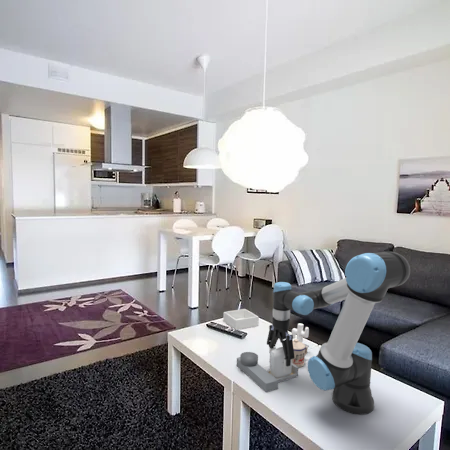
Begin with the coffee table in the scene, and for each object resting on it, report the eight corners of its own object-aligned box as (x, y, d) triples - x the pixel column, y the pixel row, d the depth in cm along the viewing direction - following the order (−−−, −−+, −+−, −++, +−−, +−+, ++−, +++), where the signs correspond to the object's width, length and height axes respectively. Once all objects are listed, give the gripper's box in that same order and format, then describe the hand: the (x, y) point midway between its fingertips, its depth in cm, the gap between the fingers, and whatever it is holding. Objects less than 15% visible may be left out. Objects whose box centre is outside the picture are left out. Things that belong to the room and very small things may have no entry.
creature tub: (258, 326, 204) (258, 316, 204) (235, 330, 197) (236, 320, 196) (244, 317, 218) (245, 308, 218) (223, 321, 211) (223, 312, 211)
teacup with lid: (294, 369, 153) (295, 345, 152) (281, 361, 161) (282, 337, 160) (313, 363, 159) (314, 340, 158) (299, 355, 167) (300, 333, 166)
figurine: (295, 347, 177) (296, 319, 176) (311, 353, 170) (312, 324, 169) (287, 351, 172) (288, 322, 171) (302, 357, 165) (304, 328, 164)
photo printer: (274, 380, 143) (274, 351, 142) (268, 375, 146) (268, 348, 146) (293, 374, 147) (293, 347, 147) (287, 370, 151) (287, 343, 151)
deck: (304, 380, 144) (305, 366, 144) (263, 392, 134) (264, 377, 134) (271, 356, 165) (272, 343, 165) (234, 365, 155) (235, 352, 155)
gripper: (305, 325, 137) (302, 377, 139) (273, 308, 157) (271, 354, 159) (290, 328, 134) (288, 381, 136) (259, 311, 153) (258, 357, 155)
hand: (279, 366), depth 147 cm, fingers open, 9 cm apart
